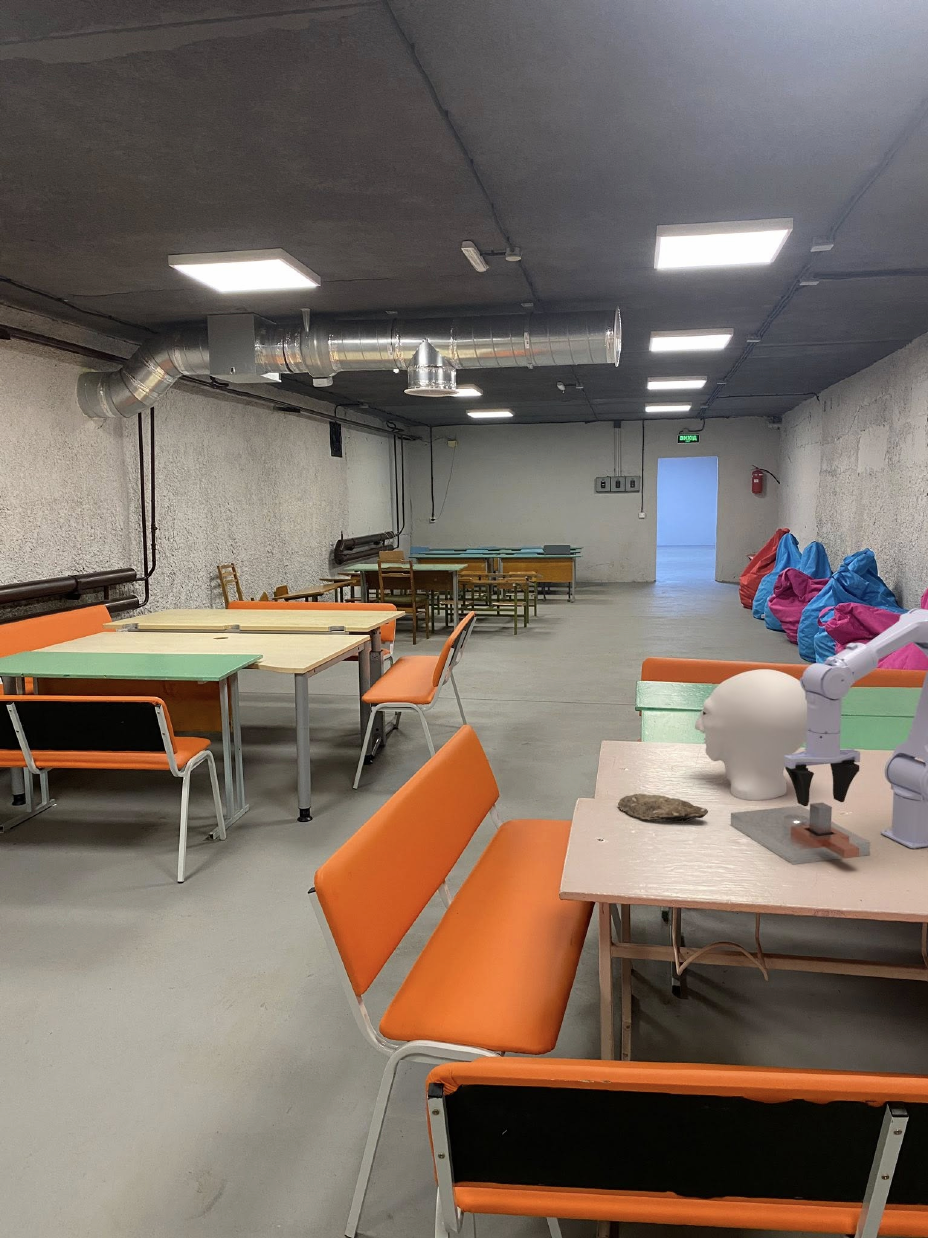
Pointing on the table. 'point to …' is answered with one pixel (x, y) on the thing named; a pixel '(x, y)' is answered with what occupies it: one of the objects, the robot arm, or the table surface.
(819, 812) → the grey rectangular block
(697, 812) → the rock
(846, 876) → the table surface
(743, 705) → the head sculpture
